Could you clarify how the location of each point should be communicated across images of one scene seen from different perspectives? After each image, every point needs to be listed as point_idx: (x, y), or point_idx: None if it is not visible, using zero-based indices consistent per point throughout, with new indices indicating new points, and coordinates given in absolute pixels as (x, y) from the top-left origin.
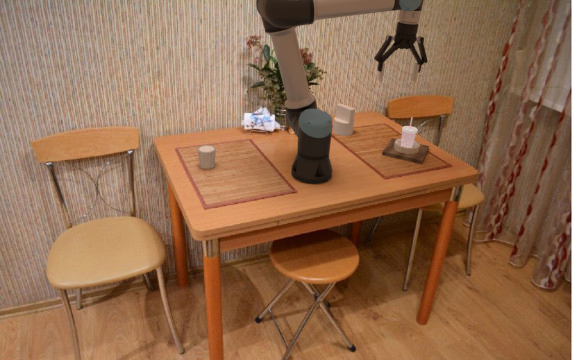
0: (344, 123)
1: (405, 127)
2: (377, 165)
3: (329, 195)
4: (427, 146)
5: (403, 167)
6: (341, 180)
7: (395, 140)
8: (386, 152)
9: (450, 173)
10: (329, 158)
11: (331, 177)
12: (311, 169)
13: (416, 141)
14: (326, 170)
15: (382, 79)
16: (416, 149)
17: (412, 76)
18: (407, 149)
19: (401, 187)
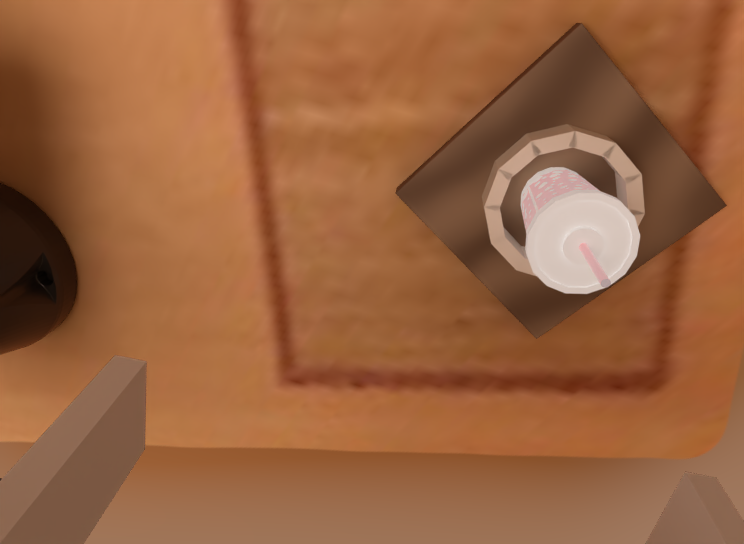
0: None
1: (572, 211)
2: (313, 277)
3: (37, 408)
4: (709, 208)
5: (423, 329)
6: (106, 338)
7: (577, 69)
8: (411, 206)
9: (593, 432)
10: (2, 331)
11: (68, 313)
12: None
13: (641, 203)
14: (6, 352)
15: (131, 465)
16: None
17: (702, 535)
18: (513, 264)
19: (315, 447)
